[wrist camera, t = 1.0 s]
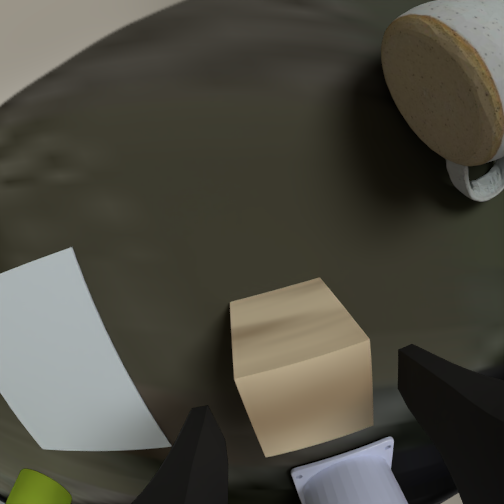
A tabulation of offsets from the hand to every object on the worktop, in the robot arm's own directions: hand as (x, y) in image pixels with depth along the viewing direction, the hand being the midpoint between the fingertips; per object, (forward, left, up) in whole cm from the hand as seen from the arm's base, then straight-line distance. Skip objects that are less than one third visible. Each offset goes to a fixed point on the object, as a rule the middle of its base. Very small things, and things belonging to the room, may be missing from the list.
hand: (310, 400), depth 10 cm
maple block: (0, 0, -6) cm, 6 cm away
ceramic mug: (+9, -12, -6) cm, 16 cm away
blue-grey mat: (0, +15, -6) cm, 16 cm away
